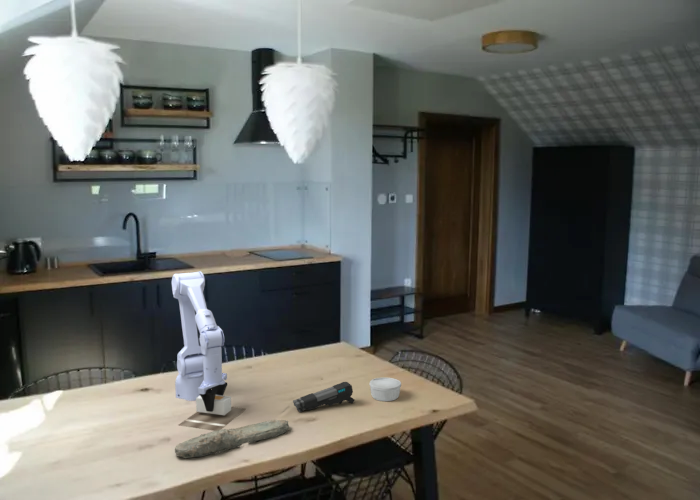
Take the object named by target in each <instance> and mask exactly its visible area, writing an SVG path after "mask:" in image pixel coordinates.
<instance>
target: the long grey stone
mask: <svg viewBox="0 0 700 500" xmlns="http://www.w3.org/2000/svg"><path fill="white" fill-rule="evenodd" d="M289 429H290V425H289V421H288V420H286V419H271V420H270V419H269V420H265V421H263V422H262V421H261V422H258V423H252V424H248V425H244V426H241V427H236V428H229V429H226V428H222V429H220V430H215V431H213V430H212V431H210V432H207V433H203V434H200V435H198V436H196V437H193V438H191V439H187V440H185V441H183V442H181V443H178V444H176V446H175V447H174V453H175V456H177V457H180V458H183V459H187V458H189V459H190V458H197V457H198V458H200V457H205V456H209V455H212V454H214V455H215V454H216V455H218V454H220V453H222V452H223V453H224V452H225V451H227V450H232V449H234V448H238V447H240V446H242V445H243V444H244V443H251V444H253V443H255V442H257V441H261V440H267V439H271V438H275V437H278V436H280V435H283V434H284V433H287V432H289Z"/></svg>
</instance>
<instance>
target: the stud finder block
mask: <svg viewBox="0 0 700 500" xmlns="http://www.w3.org/2000/svg"><path fill="white" fill-rule="evenodd" d="M195 404H196V406H195V408H196V409H195V411H196V412H204V413H211V414H218V415H226V414H227V413H228V412H229V411H231V407H232V396H230V395H229V396H228V395H216V396H215V400H214V409H213V411H212V412H209V411H206V408H205V405H204V402H203V399H202V397H201V396H198V397H197V398H196V400H195ZM196 412H195V413H196Z"/></svg>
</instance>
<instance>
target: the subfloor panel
mask: <svg viewBox="0 0 700 500" xmlns="http://www.w3.org/2000/svg"><path fill="white" fill-rule="evenodd" d="M246 410H247V408H245V407H243V408H242V407H236V406H231V411H229V412H228V413H227V414H226V415H218V414H211V413H204V412H194V413H193V414H192V415H191V416H189V417H187V418H185V419H184V420H183V421H182V422H181V423H179V424H178V426H181V427H188V428H195V429H201V430H206V431H212V432H213V431H215V430H220V429H224V428H225V427H226V426H227V425H228V424H230V423H231V422H232V421H233V420H234V419H236V418H237V417H238V416H240V415H241V414H242V413H243V412H245V411H246Z"/></svg>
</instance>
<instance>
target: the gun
mask: <svg viewBox="0 0 700 500" xmlns="http://www.w3.org/2000/svg"><path fill="white" fill-rule="evenodd" d="M353 393H354V391H353V386H352V384H351V383H349V382H348V381H342V382H340V383H338V384H333V385H332V386H330V387H328V388H327V387H326V388H324V389H321V390H319V391H316V392H313V393H309V394H306V395H303V396H300V397H299V398H296V399H294V400H292V402H293V406H294V407H295V409H296V410H297V412H299V413H302V412H303V411H305V410H307V411H311V410H314V409H317V408H319V407H321V406H324V405H325V406H329V407H331V406H333V405H337V404H339V405H342V403H344V401H347V402H348V403H350V404H354V403H355V401H356V399H355V398H353V397H351V396H352V395H353Z"/></svg>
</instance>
